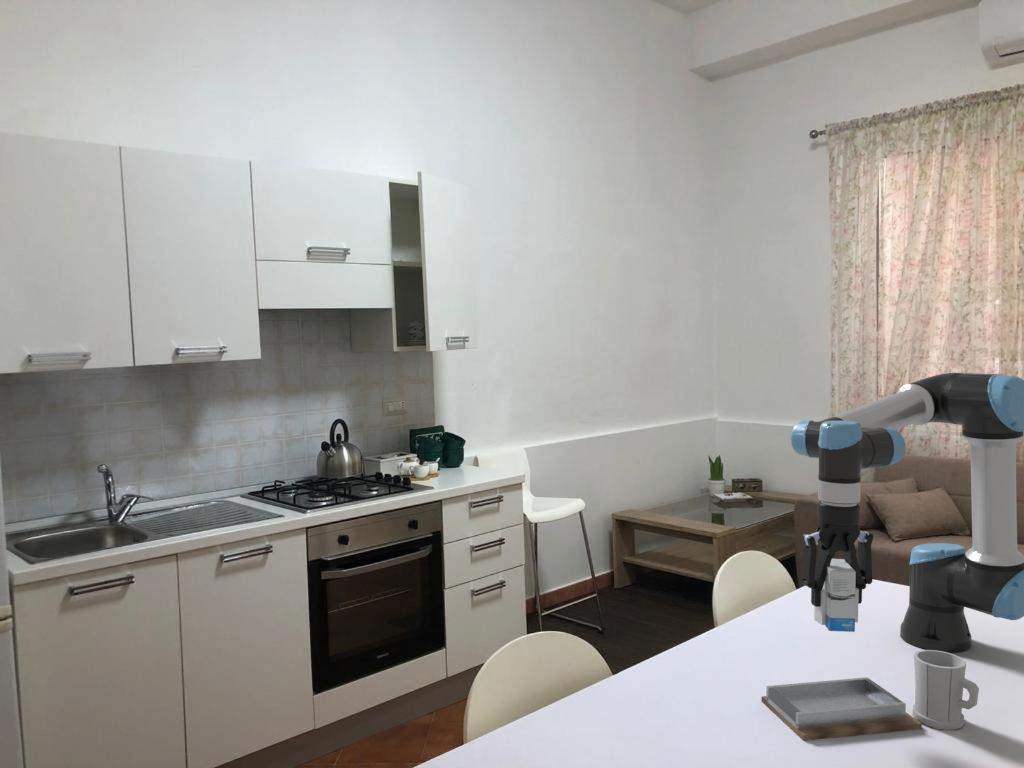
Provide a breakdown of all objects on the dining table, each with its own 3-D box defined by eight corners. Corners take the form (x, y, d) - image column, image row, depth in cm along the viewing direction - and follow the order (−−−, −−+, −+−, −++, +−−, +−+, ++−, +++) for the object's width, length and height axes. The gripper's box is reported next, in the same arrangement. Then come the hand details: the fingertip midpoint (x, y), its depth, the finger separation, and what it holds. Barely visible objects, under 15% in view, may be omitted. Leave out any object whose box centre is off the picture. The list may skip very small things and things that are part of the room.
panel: (869, 691, 169) (869, 686, 169) (921, 728, 153) (921, 723, 153) (761, 701, 165) (761, 696, 165) (803, 740, 149) (803, 735, 149)
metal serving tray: (866, 691, 167) (867, 677, 167) (905, 719, 155) (905, 703, 155) (766, 700, 163) (766, 686, 163) (797, 730, 151) (798, 714, 151)
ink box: (855, 632, 153) (856, 570, 152) (828, 631, 154) (829, 570, 153) (843, 616, 162) (844, 558, 161) (817, 615, 162) (818, 557, 161)
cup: (969, 714, 159) (971, 653, 158) (978, 736, 150) (981, 672, 150) (909, 706, 162) (910, 647, 162) (915, 727, 154) (917, 665, 153)
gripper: (872, 496, 162) (869, 611, 163) (782, 500, 158) (780, 617, 160) (896, 504, 154) (893, 624, 156) (802, 508, 151) (800, 631, 152)
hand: (836, 620), depth 158 cm, fingers closed on ink box, 6 cm apart
